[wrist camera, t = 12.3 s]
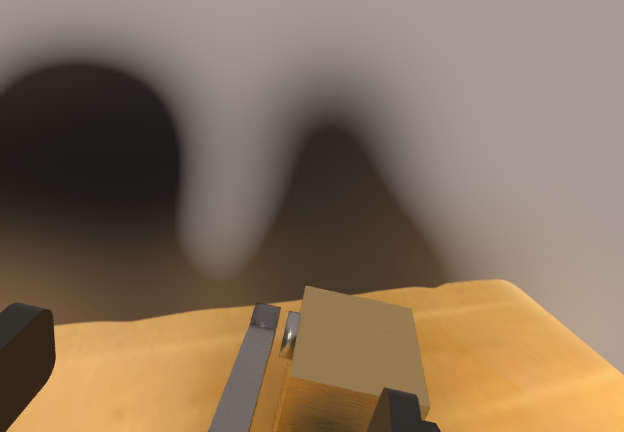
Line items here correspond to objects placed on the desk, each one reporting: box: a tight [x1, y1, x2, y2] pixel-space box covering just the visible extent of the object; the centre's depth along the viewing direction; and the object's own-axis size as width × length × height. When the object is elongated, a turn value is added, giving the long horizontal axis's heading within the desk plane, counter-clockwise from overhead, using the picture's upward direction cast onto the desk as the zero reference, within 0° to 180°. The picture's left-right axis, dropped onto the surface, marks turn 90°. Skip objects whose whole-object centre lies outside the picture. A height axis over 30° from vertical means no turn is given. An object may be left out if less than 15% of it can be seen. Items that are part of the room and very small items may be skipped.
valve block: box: [272, 286, 430, 432], centre depth 31 cm, size 9×21×16 cm, turn 174°
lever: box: [208, 302, 281, 432], centre depth 20 cm, size 3×3×22 cm
